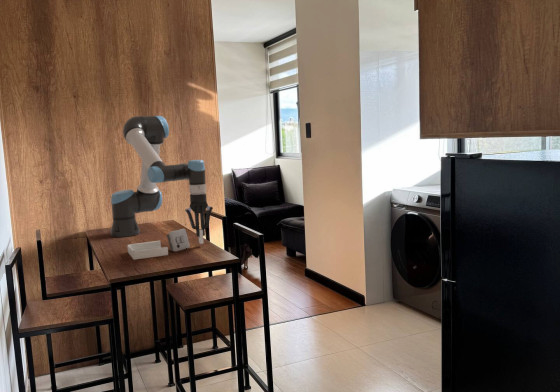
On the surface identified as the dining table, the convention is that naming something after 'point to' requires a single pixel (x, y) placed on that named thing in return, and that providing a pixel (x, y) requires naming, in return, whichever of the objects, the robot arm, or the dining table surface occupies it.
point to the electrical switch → (178, 240)
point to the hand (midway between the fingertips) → (201, 243)
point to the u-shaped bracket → (147, 250)
